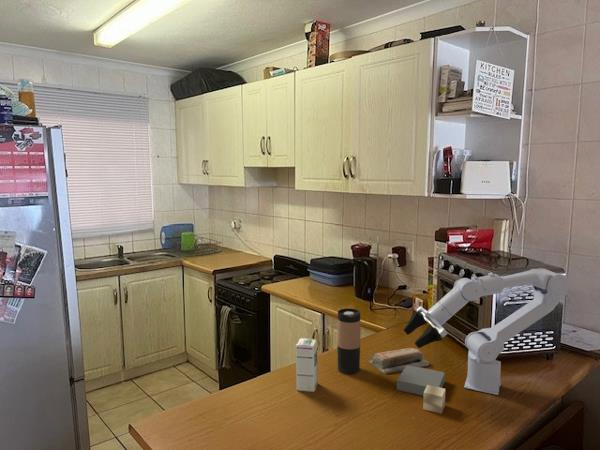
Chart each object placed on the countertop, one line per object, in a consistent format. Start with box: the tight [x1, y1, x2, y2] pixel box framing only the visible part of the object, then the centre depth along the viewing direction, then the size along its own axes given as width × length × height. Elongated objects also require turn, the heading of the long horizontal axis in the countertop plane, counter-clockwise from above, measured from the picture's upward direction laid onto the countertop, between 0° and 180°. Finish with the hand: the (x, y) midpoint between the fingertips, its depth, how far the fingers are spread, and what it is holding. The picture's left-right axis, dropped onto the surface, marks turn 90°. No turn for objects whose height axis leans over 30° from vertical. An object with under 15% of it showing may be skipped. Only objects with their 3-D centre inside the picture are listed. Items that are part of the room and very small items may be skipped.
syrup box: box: [295, 337, 319, 393], centre depth 132 cm, size 6×6×14 cm
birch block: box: [422, 385, 446, 415], centre depth 121 cm, size 5×5×5 cm
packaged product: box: [368, 347, 430, 375], centre depth 149 cm, size 18×5×10 cm
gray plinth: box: [396, 365, 446, 396], centre depth 133 cm, size 12×12×3 cm
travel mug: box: [336, 308, 361, 375], centre depth 143 cm, size 8×8×20 cm
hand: (410, 338), depth 130 cm, fingers open, 7 cm apart
